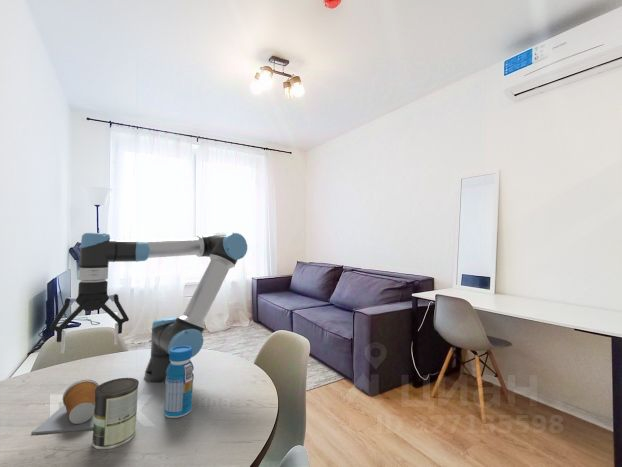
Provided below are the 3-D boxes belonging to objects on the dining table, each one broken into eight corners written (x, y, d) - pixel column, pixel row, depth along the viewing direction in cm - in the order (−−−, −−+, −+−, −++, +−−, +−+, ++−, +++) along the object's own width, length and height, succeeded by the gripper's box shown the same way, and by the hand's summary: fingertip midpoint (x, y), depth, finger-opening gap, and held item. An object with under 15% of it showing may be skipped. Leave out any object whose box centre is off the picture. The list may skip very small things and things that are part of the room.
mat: (128, 397, 104) (128, 396, 104) (103, 428, 86) (103, 426, 86) (70, 401, 101) (70, 400, 101) (31, 434, 83) (31, 432, 83)
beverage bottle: (163, 421, 90) (167, 354, 91) (163, 408, 98) (166, 346, 99) (193, 415, 94) (196, 350, 95) (190, 402, 102) (193, 343, 103)
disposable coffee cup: (54, 430, 84) (56, 406, 93) (93, 429, 89) (91, 407, 99) (70, 396, 85) (70, 376, 94) (107, 397, 91) (104, 378, 100)
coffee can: (82, 450, 77) (85, 394, 78) (106, 426, 87) (109, 377, 88) (124, 449, 78) (127, 393, 79) (142, 426, 88) (145, 377, 89)
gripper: (40, 284, 85) (35, 360, 84) (139, 279, 100) (137, 343, 99) (42, 281, 91) (38, 352, 90) (136, 277, 106) (134, 338, 105)
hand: (90, 348), depth 95 cm, fingers open, 13 cm apart
